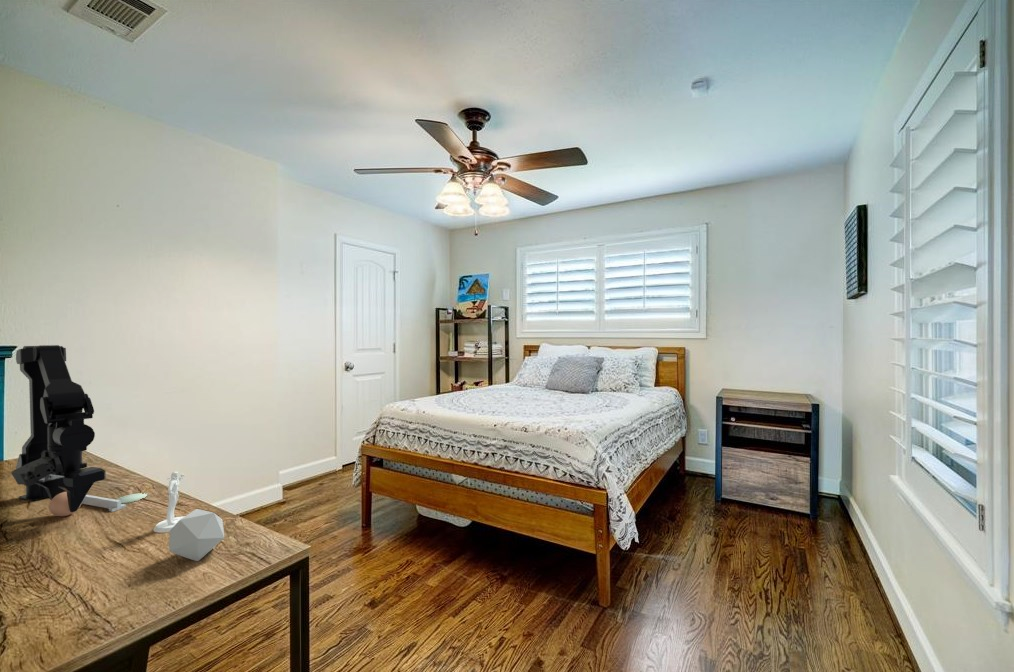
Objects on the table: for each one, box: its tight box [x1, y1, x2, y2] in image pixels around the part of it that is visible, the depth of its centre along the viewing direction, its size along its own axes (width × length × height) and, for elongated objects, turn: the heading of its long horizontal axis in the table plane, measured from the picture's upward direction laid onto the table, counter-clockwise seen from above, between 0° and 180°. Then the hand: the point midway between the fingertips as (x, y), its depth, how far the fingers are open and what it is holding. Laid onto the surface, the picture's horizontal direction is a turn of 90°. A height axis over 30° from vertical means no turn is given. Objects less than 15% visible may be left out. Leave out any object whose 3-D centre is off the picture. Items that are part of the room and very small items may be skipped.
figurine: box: [153, 471, 186, 534], centre depth 98 cm, size 7×7×12 cm
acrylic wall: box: [81, 494, 127, 513], centre depth 109 cm, size 16×3×2 cm, turn 72°
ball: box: [48, 492, 82, 517], centre depth 103 cm, size 6×6×6 cm
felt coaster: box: [115, 492, 148, 505], centre depth 114 cm, size 6×6×1 cm
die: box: [168, 508, 225, 562], centre depth 84 cm, size 8×9×10 cm
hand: (65, 510), depth 103 cm, fingers closed on ball, 5 cm apart
